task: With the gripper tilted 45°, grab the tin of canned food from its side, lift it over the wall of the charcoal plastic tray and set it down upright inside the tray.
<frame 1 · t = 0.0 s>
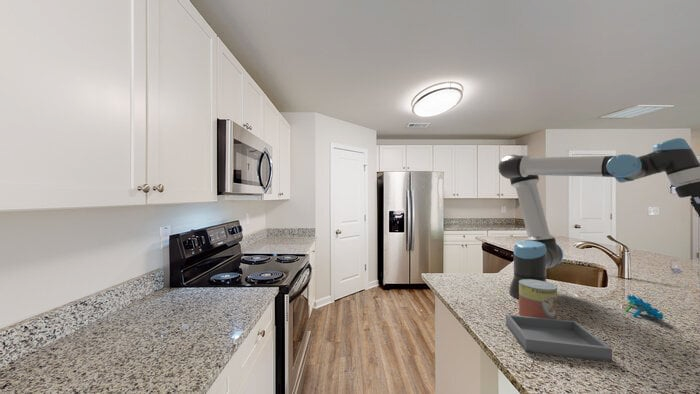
blue irregular piece: (643, 317, 95), on the countertop
tray: (552, 341, 79), on the countertop
canned food: (537, 317, 94), on the countertop
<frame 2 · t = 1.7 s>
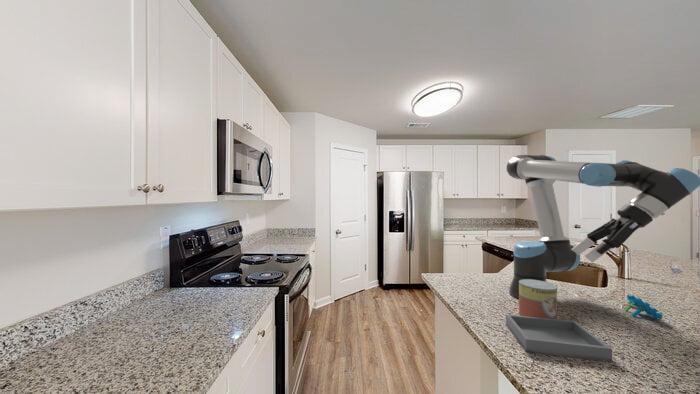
hand: (580, 255, 89), 23 cm above the countertop, tool tilted 45°, fingers open, 13 cm apart
nothing on the countertop moved.
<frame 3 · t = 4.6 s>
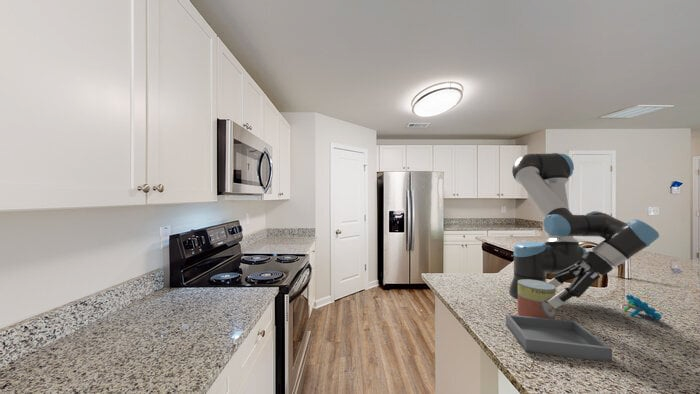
hand: (546, 297, 92), 8 cm above the countertop, tool tilted 45°, fingers open, 13 cm apart
canned food: (535, 317, 94), on the countertop, touching gripper
everything else where it was.
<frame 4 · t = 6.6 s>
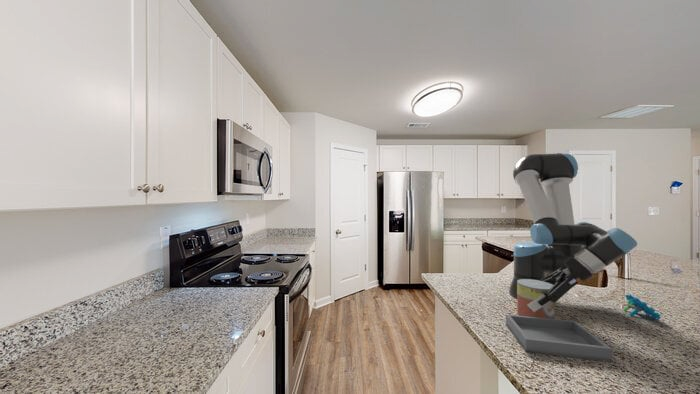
hand: (528, 302, 96), 5 cm above the countertop, tool tilted 45°, fingers closed on canned food, 11 cm apart
canned food: (535, 317, 95), on the countertop, touching gripper
everything else where it was.
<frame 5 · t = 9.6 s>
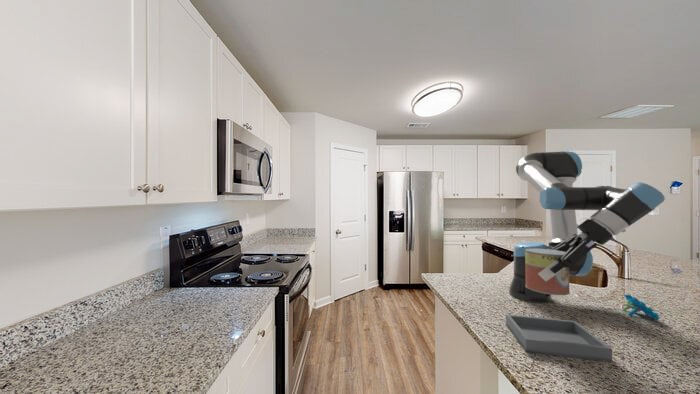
hand: (538, 273, 84), 19 cm above the countertop, tool tilted 45°, fingers closed on canned food, 11 cm apart
canned food: (546, 289, 83), point 14 cm above the countertop, touching gripper
everything else where it was.
when the fingers open (7 cm above the countertop, at t = 12.9 s): canned food drops 1 cm, resting on tray.
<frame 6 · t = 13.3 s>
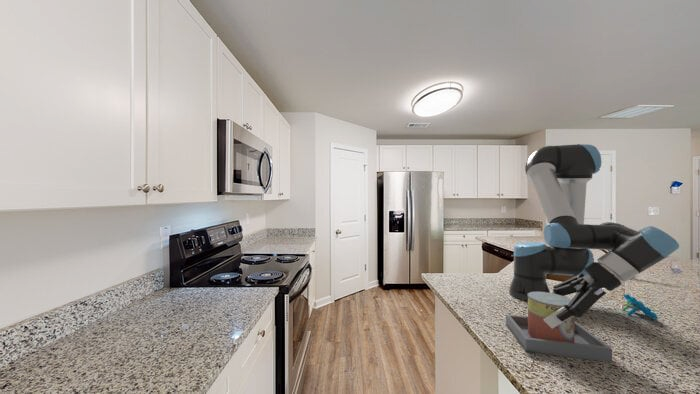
hand: (542, 314, 80), 7 cm above the countertop, tool tilted 45°, fingers open, 13 cm apart
canned food: (550, 338, 79), point 1 cm above the countertop, touching tray
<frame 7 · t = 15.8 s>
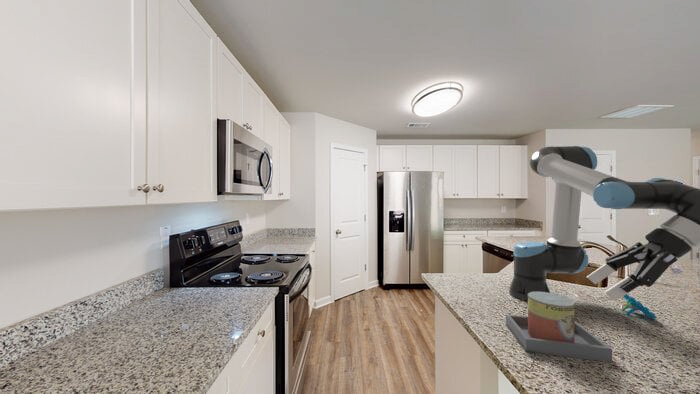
hand: (599, 288, 74), 17 cm above the countertop, tool tilted 45°, fingers open, 13 cm apart
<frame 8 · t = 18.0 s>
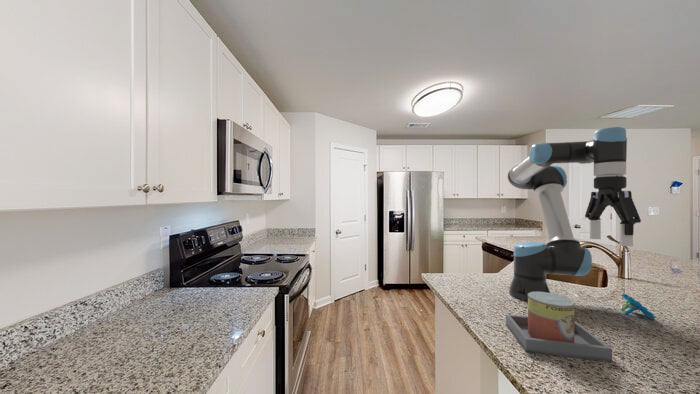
hand: (609, 242, 85), 29 cm above the countertop, tool pointing down, fingers open, 13 cm apart
at the end: canned food inside the target area on the tray (0.5 cm from its centre), point 0.6 cm above the tray's base; canned food tilted 0°; the gripper is holding nothing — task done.
